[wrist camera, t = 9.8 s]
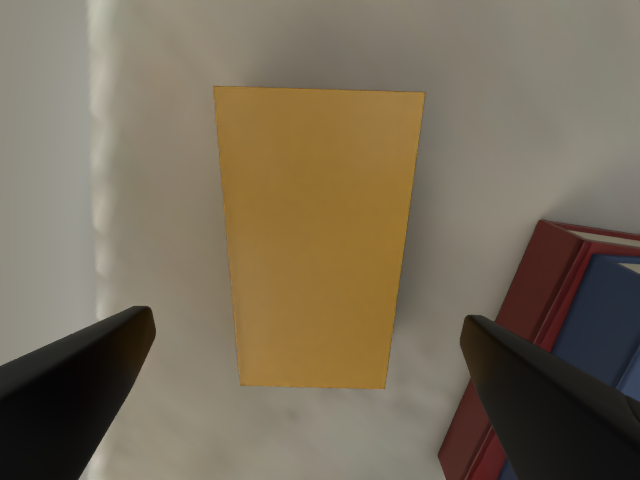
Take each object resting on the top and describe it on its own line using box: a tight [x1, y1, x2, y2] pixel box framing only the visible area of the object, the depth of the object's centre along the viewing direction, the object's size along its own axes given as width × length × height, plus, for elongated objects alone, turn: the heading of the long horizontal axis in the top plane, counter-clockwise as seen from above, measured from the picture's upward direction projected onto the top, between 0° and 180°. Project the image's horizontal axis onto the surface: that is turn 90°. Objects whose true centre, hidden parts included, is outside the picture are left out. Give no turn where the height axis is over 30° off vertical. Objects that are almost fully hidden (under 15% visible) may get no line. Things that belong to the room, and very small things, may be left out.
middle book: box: [497, 254, 640, 480], centre depth 14 cm, size 15×6×3 cm, turn 176°
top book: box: [213, 86, 425, 389], centre depth 14 cm, size 13×7×3 cm, turn 178°
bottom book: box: [438, 220, 640, 480], centre depth 17 cm, size 17×11×3 cm, turn 171°
